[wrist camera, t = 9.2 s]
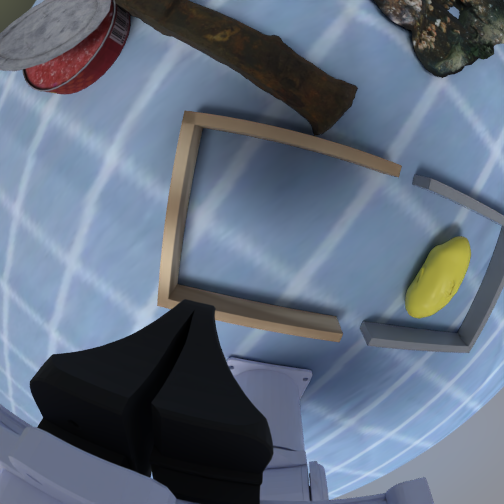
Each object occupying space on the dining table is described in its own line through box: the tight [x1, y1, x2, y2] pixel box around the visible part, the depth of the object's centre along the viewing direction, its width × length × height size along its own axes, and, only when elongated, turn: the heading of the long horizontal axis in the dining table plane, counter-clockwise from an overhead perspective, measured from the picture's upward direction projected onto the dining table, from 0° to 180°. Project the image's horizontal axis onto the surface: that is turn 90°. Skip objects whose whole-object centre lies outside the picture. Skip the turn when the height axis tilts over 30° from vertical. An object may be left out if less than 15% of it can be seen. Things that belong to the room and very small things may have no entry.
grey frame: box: [360, 175, 504, 353], centre depth 20 cm, size 14×13×2 cm
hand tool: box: [115, 0, 358, 136], centre depth 14 cm, size 19×4×5 cm, turn 52°
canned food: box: [0, 0, 130, 94], centre depth 12 cm, size 11×10×10 cm
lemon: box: [405, 236, 471, 319], centre depth 19 cm, size 4×8×4 cm, turn 145°
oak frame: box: [157, 111, 402, 342], centre depth 19 cm, size 14×14×2 cm
